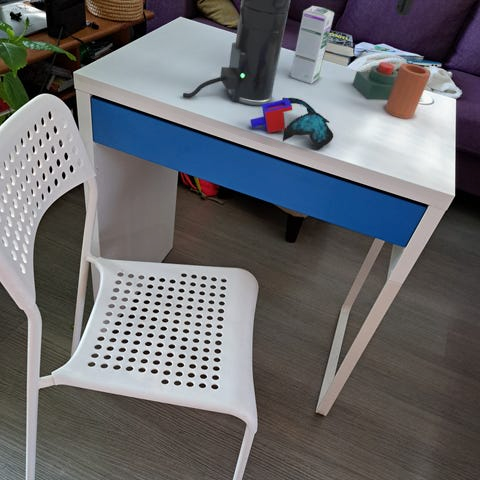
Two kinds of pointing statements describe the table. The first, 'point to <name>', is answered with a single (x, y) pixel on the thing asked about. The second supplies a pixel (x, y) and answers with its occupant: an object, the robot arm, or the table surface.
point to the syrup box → (311, 43)
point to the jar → (407, 90)
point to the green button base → (374, 83)
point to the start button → (385, 68)
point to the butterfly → (309, 126)
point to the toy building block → (273, 115)
